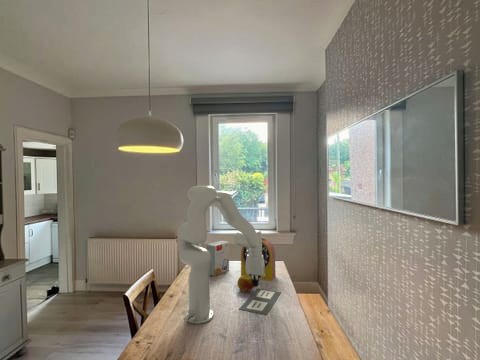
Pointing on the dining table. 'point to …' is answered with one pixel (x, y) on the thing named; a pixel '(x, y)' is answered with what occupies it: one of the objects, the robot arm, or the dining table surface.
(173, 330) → the dining table surface
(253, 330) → the dining table surface
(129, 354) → the dining table surface
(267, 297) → the label mat
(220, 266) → the hard drive box
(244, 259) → the alarm clock
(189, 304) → the robot arm
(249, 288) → the fruit
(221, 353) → the dining table surface
